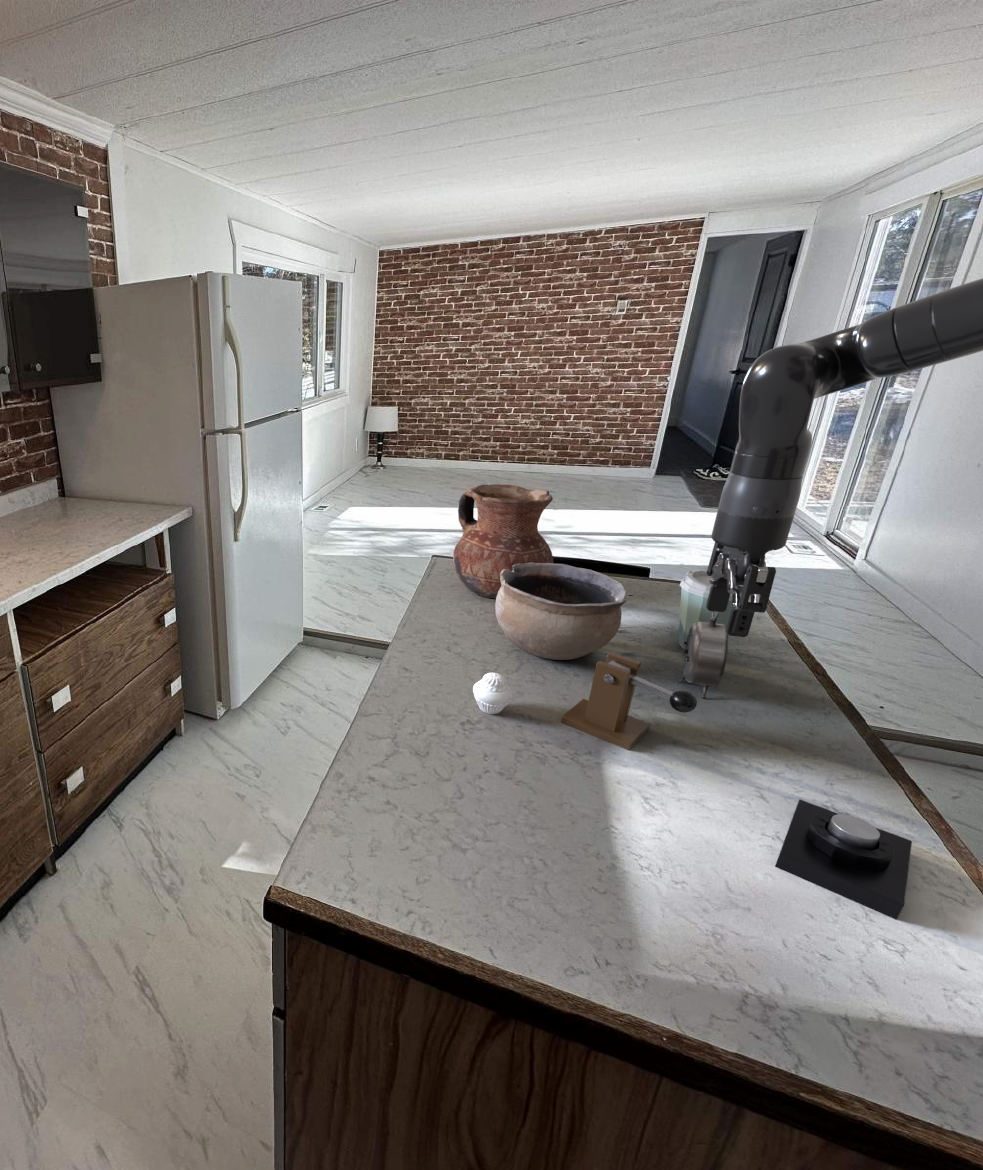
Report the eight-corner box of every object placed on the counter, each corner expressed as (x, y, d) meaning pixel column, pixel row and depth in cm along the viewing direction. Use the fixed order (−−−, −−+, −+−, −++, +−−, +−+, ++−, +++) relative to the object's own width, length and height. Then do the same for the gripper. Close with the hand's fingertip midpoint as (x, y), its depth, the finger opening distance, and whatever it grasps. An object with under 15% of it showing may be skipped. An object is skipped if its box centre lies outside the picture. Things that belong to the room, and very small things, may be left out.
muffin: (488, 696, 110) (493, 661, 108) (517, 713, 105) (523, 677, 103) (462, 705, 108) (467, 670, 105) (491, 723, 103) (497, 687, 100)
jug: (545, 579, 158) (561, 482, 148) (550, 612, 140) (569, 504, 131) (452, 570, 167) (462, 478, 157) (446, 600, 149) (457, 498, 140)
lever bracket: (648, 729, 99) (666, 665, 95) (628, 750, 95) (646, 683, 90) (582, 704, 107) (595, 643, 102) (560, 722, 102) (573, 659, 98)
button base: (794, 812, 82) (803, 787, 80) (905, 854, 75) (917, 829, 73) (774, 866, 74) (785, 840, 72) (896, 920, 67) (910, 892, 65)
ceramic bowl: (492, 619, 139) (501, 555, 133) (606, 634, 129) (621, 567, 124) (487, 665, 120) (497, 593, 115) (619, 686, 111) (637, 610, 105)
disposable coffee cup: (741, 649, 121) (763, 578, 115) (719, 667, 116) (742, 593, 110) (678, 631, 129) (696, 563, 124) (655, 646, 124) (673, 577, 118)
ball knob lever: (695, 711, 91) (703, 694, 90) (687, 720, 89) (696, 702, 88) (608, 673, 100) (614, 656, 98) (599, 680, 98) (606, 663, 96)
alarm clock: (715, 704, 105) (742, 617, 99) (676, 696, 108) (700, 611, 101) (710, 675, 113) (735, 593, 107) (674, 668, 116) (695, 588, 110)
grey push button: (829, 820, 76) (834, 808, 75) (876, 838, 73) (881, 826, 72) (824, 837, 73) (829, 826, 72) (872, 856, 70) (878, 844, 70)
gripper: (819, 525, 73) (780, 648, 78) (770, 496, 85) (740, 605, 91) (739, 521, 75) (707, 641, 81) (703, 494, 88) (678, 600, 93)
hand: (725, 622), depth 86 cm, fingers open, 8 cm apart
